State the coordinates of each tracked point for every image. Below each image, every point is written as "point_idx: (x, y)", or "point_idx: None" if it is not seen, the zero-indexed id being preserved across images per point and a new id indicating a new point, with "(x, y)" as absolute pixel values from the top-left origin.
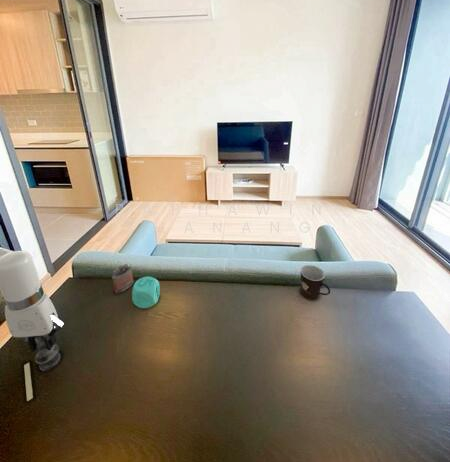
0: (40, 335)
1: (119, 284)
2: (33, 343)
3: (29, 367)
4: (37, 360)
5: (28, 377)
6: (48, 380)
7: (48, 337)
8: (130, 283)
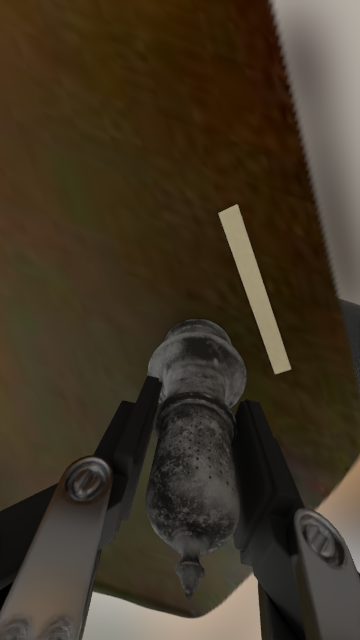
0: (179, 531)
1: None
2: (249, 457)
3: (268, 352)
4: (229, 354)
5: (260, 311)
6: (179, 273)
7: (77, 484)
8: None
